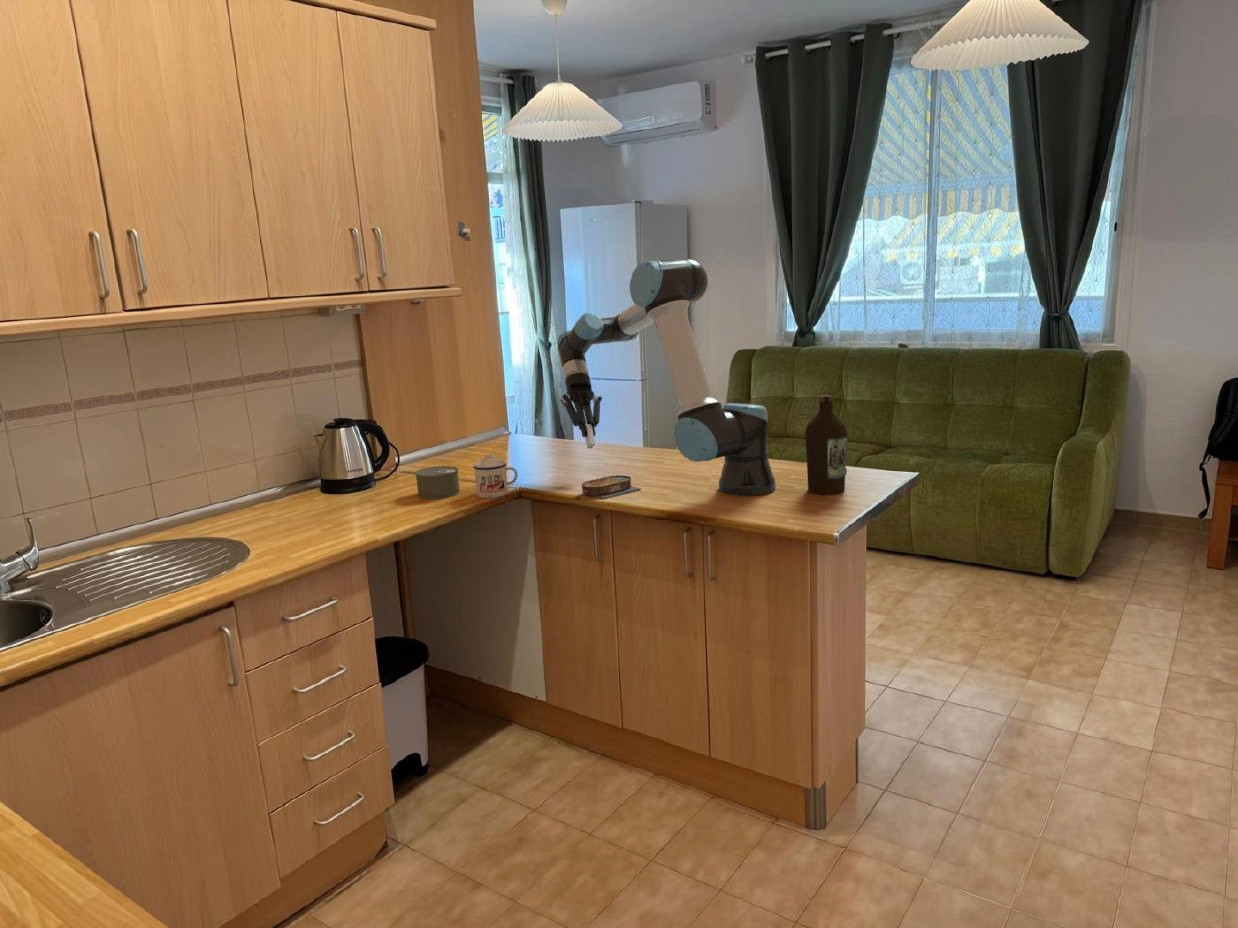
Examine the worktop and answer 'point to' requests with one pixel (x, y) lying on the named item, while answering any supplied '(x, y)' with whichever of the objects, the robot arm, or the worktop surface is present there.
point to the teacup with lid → (492, 477)
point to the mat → (617, 493)
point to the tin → (606, 485)
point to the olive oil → (826, 450)
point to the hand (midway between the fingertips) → (591, 445)
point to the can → (437, 482)
